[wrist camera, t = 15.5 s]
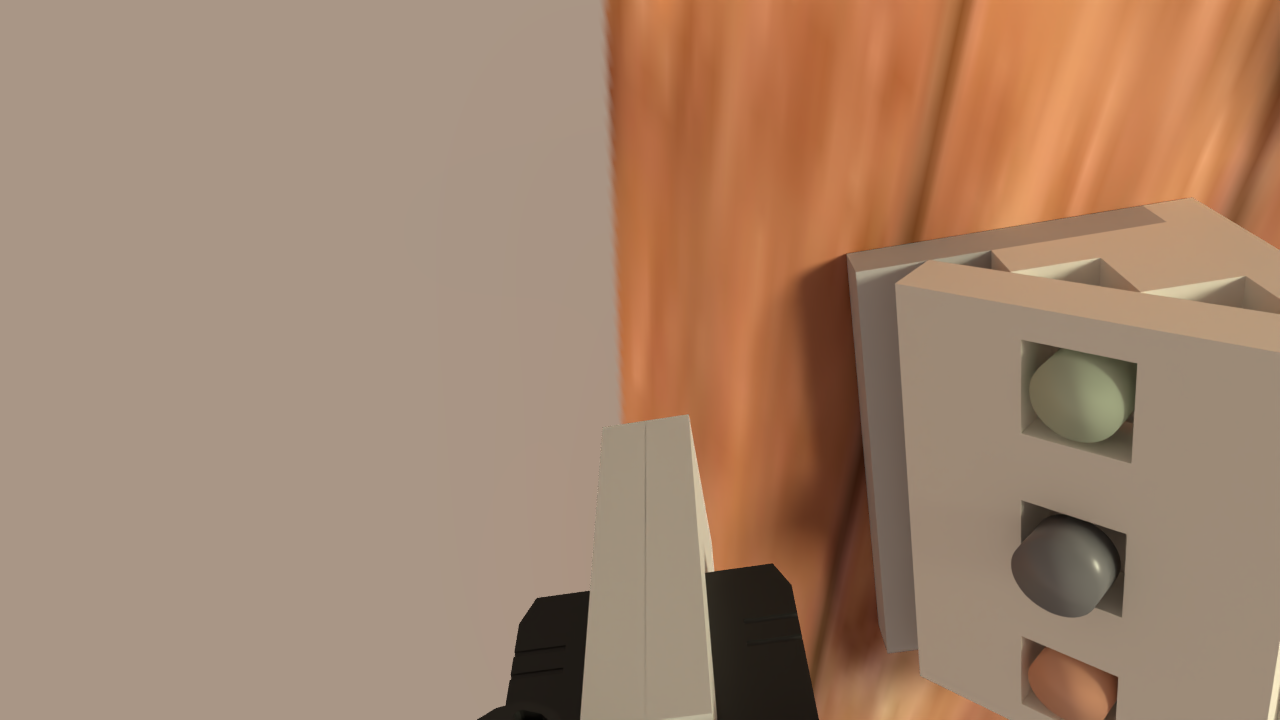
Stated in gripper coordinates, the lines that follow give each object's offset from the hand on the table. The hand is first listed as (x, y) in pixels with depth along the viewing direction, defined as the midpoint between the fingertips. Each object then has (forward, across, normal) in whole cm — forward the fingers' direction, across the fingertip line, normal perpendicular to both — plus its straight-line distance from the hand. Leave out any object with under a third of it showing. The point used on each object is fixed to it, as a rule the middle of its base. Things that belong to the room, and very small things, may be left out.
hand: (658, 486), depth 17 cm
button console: (+32, +18, -22) cm, 43 cm away
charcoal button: (+24, +16, -22) cm, 36 cm away
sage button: (+25, +17, -14) cm, 33 cm away
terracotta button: (+25, +17, -30) cm, 43 cm away
